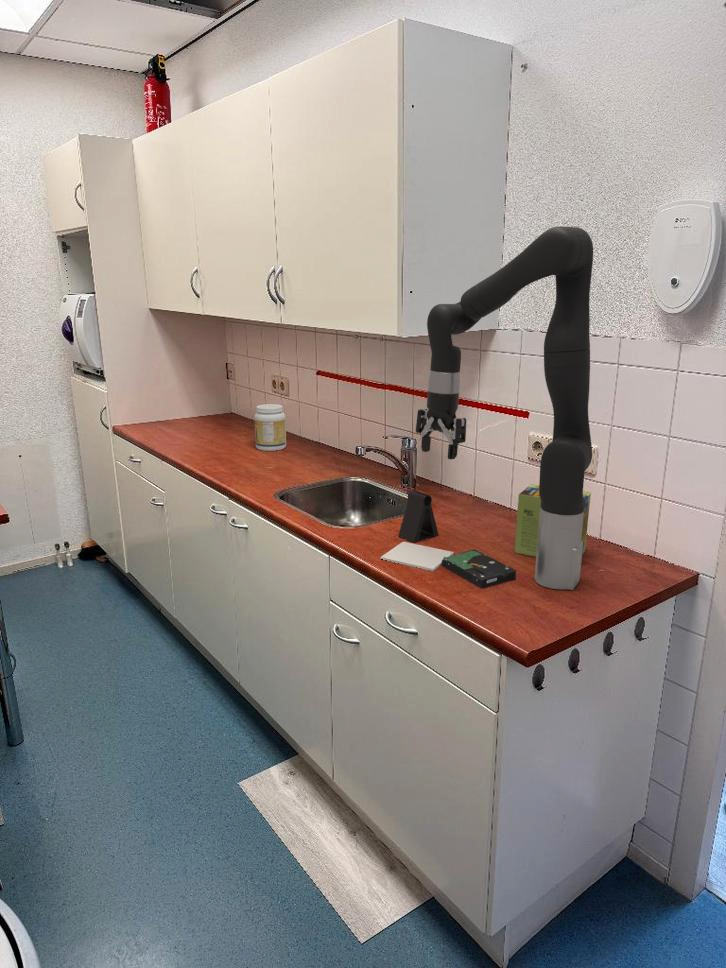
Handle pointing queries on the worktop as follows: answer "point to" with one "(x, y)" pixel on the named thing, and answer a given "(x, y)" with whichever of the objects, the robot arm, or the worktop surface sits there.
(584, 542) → the protein box
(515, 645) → the worktop surface
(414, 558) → the grey mat
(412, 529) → the phone stand
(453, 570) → the disk drive
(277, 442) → the supplement tub
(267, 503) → the worktop surface
